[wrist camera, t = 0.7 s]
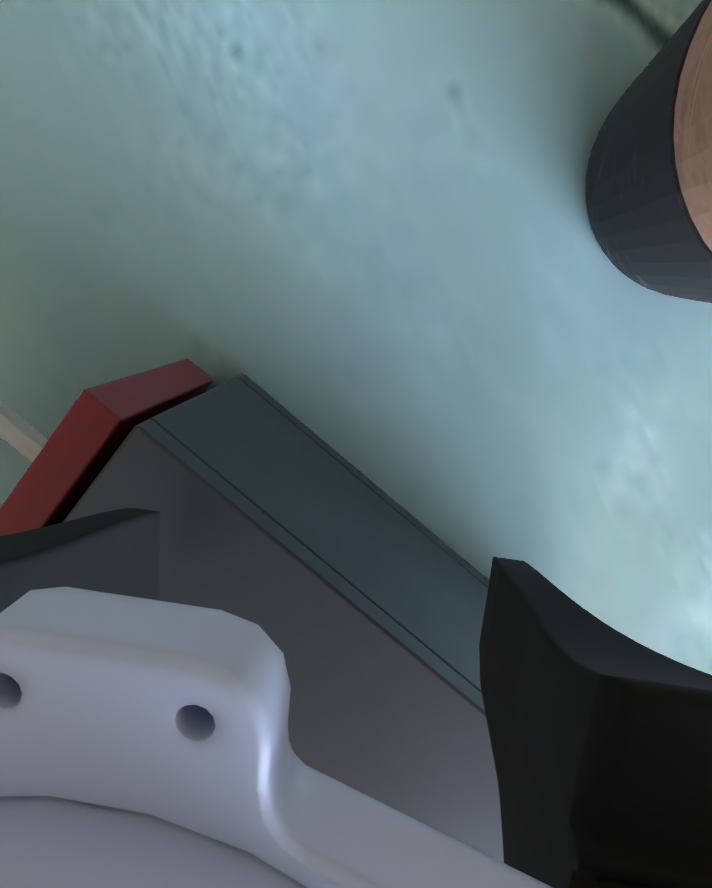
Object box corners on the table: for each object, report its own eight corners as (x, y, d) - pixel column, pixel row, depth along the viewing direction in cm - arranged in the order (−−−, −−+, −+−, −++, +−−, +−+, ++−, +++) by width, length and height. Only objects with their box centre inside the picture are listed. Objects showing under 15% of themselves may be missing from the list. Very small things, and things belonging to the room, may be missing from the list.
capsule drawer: (-89, 520, 25) (-275, 605, 18) (79, 266, 22) (-74, 258, 15) (272, 805, 26) (218, 980, 20) (482, 604, 23) (500, 733, 16)
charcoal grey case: (47, 622, 26) (-130, 777, 18) (244, 372, 23) (135, 423, 15) (319, 837, 27) (269, 1077, 19) (548, 629, 24) (607, 814, 16)
